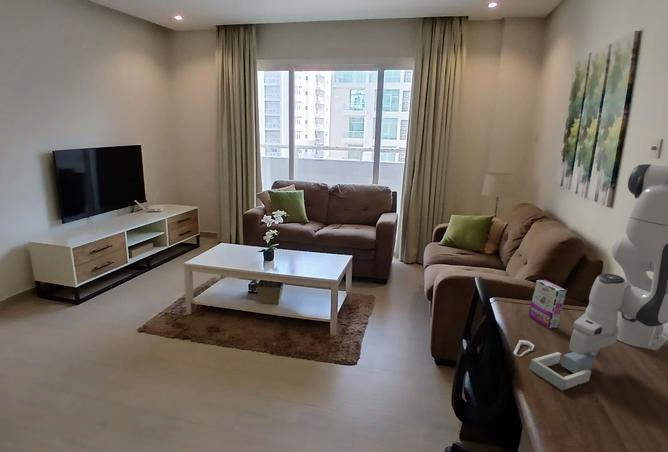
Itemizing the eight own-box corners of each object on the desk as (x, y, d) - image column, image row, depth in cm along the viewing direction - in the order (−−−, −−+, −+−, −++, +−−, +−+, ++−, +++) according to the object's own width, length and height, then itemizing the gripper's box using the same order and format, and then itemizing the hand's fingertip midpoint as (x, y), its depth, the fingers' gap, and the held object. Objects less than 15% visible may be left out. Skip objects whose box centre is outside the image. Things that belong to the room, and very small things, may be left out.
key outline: (527, 363, 136) (528, 358, 135) (512, 357, 138) (513, 353, 138) (534, 345, 146) (535, 341, 145) (520, 340, 149) (521, 336, 148)
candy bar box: (558, 328, 160) (567, 290, 156) (548, 329, 158) (557, 290, 154) (537, 315, 170) (545, 279, 166) (527, 315, 169) (535, 279, 164)
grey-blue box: (575, 362, 136) (579, 348, 135) (590, 371, 132) (594, 356, 130) (560, 367, 133) (564, 352, 131) (575, 376, 128) (579, 361, 127)
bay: (555, 360, 136) (557, 351, 135) (588, 380, 126) (591, 371, 126) (529, 368, 130) (531, 359, 129) (561, 390, 121) (564, 380, 120)
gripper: (608, 313, 138) (598, 349, 142) (570, 322, 129) (561, 360, 133) (627, 322, 133) (616, 358, 136) (590, 332, 124) (579, 371, 127)
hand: (589, 359), depth 135 cm, fingers closed
